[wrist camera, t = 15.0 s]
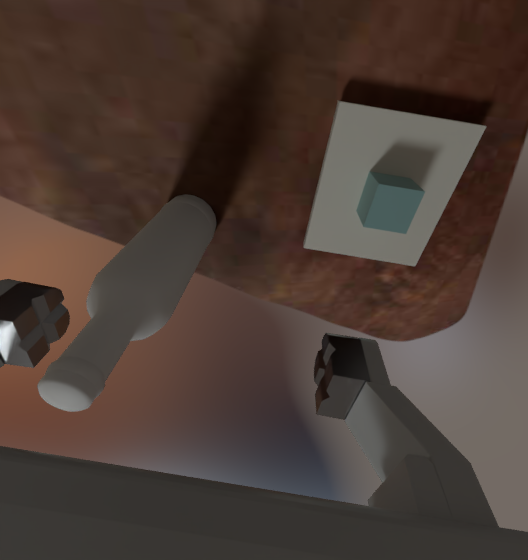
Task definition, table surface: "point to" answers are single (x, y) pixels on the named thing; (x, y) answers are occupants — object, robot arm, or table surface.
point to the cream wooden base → (393, 161)
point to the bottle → (131, 300)
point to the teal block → (389, 202)
